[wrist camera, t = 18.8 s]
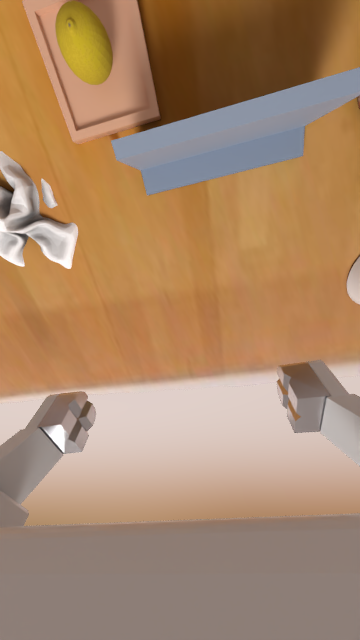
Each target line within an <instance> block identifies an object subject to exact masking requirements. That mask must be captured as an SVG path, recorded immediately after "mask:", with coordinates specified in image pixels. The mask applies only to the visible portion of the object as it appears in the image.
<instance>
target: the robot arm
mask: <svg viewBox="0 0 360 640" xmlns="http://www.w3.org/2000/svg"><path fill="white" fill-rule="evenodd" d="M347 291H348V294H349V296H350V297H351V299H352V300H353V301H354V302H356V303H357V304H359V305H360V257H359V258H358V259H357V261H356V262H355V263H354V265H353V267H352V269H351V271H350V273H349V276H348V280H347ZM277 374H278V376H279V378H280V379H279V380H278V381H277V389H278V395H279V398H280V401H281V403H282V405H283V406H284V407H285V408H286V409H287V417H288V419H289V421H290V423H291V426H292V428H293V430H294V432H295V433H302V432H318V431H320V433H321V434H322V435H324V436H325V437H326V438H327V439H328V440H329V441H331V442H332V443H333V444H334V445H335V446H337V447H338V448H339V449H340V450H341V451H342V452H344V453H345V454H346V455H347V456H348V457H349V458H351V459H352V460H353V461H354V462H355V463H357V464H358V465H359V466H360V397H359V396H357V395H355V394H349V393H348V392H347V391H346V390H345V388H344V387H343V386H342V385H341V383H340V382H339V381H338V380H337V378H336V377H335V376H334V375H333V373H332V372H331V371H330V370H329V368H328V367H327V366H326V365H325V363H324V362H323V361H321V360H316V361H308V362H301V363H294V364H287V365H280V366H278V368H277ZM87 399H88V396H87V395H86V393H85V392H72V393H62V394H54V395H50V396H48V397H47V398H46V399H45V401H44V402H43V403H42V405H41V406H40V408H39V409H38V411H37V412H36V414H35V415H34V417H33V418H32V419H31V421H30V422H29V424H28V425H27V426H26V428H25V429H23V430H20V431H19V432H18V433H17V434H15V435H14V436H12V437H11V438H10V439H9V440H7V441H6V442H5V443H3V444H2V445H1V446H0V640H360V514H335V515H334V514H333V515H308V516H280V517H255V518H254V517H253V518H226V519H203V520H202V519H200V520H174V521H147V522H121V523H95V524H68V525H45V526H44V525H42V526H23V525H24V523H25V521H26V519H27V517H28V515H29V513H28V510H27V509H25V508H24V507H22V506H21V503H22V502H23V501H24V500H25V499H26V498H27V496H28V495H29V494H30V493H31V492H32V491H33V490H34V488H35V487H36V486H37V485H38V484H39V482H40V481H41V480H42V479H43V478H44V477H45V476H46V475H47V473H48V472H49V471H50V470H51V469H52V468H53V466H54V465H55V464H56V463H57V462H58V461H59V459H60V458H61V457H62V456H63V454H66V453H75V452H82V450H83V448H84V446H85V443H86V441H87V438H88V436H89V435H88V432H87V431H88V430H89V429H90V428H91V427H92V426H93V424H94V421H95V416H96V411H95V407H94V406H93V404H92V403H90V402H89V401H87Z"/></svg>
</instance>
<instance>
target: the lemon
mask: <svg viewBox="0 0 360 640" xmlns="http://www.w3.org/2000/svg"><path fill="white" fill-rule="evenodd" d="M55 30H56V37H57V42H58V45H59V48H60V51H61V54H62V56H63V58H64V59H65V61H66V63H67V65H68V66H69V68H70V69H71V70H72V71H73V73H74V74H75V75H76V76H77V77H78V78H80V79H81V80H82V81H84V82H86V83H88V84H90V85H99V84H102V83H103V82H105V81H106V80H107V78H108V77H109V75H110V73H111V70H112V64H113V52H112V47H111V42H110V39H109V37H108V34H107V31H106V29H105V27H104V26H103V24H102V22H101V21H100V19H99V18H98V16H97V15H96V14H95V13H94V12H93V11H92V10H91V9H90V8H89V7H87V6H86V5H84V4H83V3H81V2H78V1H74V0H73V1H68V2H66V3H64V4H63V5H62V6H61V8H60V9H59V11H58V14H57V16H56V23H55Z"/></svg>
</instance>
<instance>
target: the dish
mask: <svg viewBox="0 0 360 640" xmlns="http://www.w3.org/2000/svg"><path fill="white" fill-rule="evenodd" d="M68 1H73V0H24V1H22V3H23V5H24V8H25V11H26V14H27V16H28V19H29V22H30V25H31V27H32V30H33V33H34V36H35V38H36V41H37V44H38V47H39V49H40V52H41V55H42V58H43V60H44V63H45V66H46V69H47V71H48V74H49V77H50V80H51V83H52V85H53V88H54V91H55V94H56V96H57V99H58V102H59V105H60V107H61V110H62V113H63V116H64V118H65V121H66V124H67V127H68V129H69V132H70V135H71V138H72V140H73V142H75V143H77V144H81V143H84V142H87V141H91V140H94V139H97V138H101V137H104V136H107V135H111V134H114V133H117V132H121V131H124V130H127V129H131V128H134V127H137V126H140V125H144V124H147V123H150V122H154V121H157V120H160V119H161V117H160V112H159V107H158V102H157V97H156V91H155V86H154V81H153V76H152V71H151V66H150V61H149V55H148V50H147V45H146V40H145V35H144V30H143V25H142V20H141V14H140V9H139V4H138V0H74V1H78V2H81V3H83V4H84V5H86V6H87V7H89V8H90V9H91V10H92V11H93V12H94V13H95V14H96V15H97V16H98V18H99V19H100V21H101V22H102V24H103V26H104V27H105V29H106V31H107V34H108V37H109V39H110V42H111V47H112V52H113V64H112V70H111V73H110V75H109V77H108V78H107V80H106V81H105V82H103V83H102V84H99V85H90V84H88V83H86V82H84V81H82V80H81V79H80V78H78V77H77V76H76V75H75V74H74V73H73V71H72V70H71V69H70V68H69V66H68V65H67V63H66V61H65V59H64V58H63V56H62V54H61V51H60V48H59V45H58V42H57V37H56V30H55V23H56V16H57V14H58V11H59V9H60V8H61V6H62V5H63V4H64V3H66V2H68Z"/></svg>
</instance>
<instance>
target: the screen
mask: <svg viewBox="0 0 360 640" xmlns="http://www.w3.org/2000/svg"><path fill="white" fill-rule="evenodd" d="M359 95H360V67H359V68H356V69H352V70H349V71H346V72H342V73H339V74H335V75H332V76H329V77H325V78H322V79H319V80H315V81H312V82H308V83H305V84H302V85H298V86H295V87H292V88H288V89H285V90H281V91H278V92H275V93H271V94H268V95H265V96H261V97H258V98H254V99H251V100H248V101H244V102H241V103H238V104H234V105H231V106H227V107H224V108H221V109H217V110H214V111H211V112H207V113H204V114H200V115H197V116H194V117H190V118H187V119H183V120H180V121H177V122H173V123H170V124H167V125H163V126H160V127H156V128H153V129H150V130H146V131H143V132H140V133H136V134H133V135H129V136H126V137H123V138H119V139H116V140H113V141H111V142H112V146H113V149H114V153H115V156H116V159H117V161H120V162H122V163H124V164H127V165H129V166H131V167H134V168H136V169H139V170H141V173H142V177H143V181H144V185H145V189H146V193H147V195H151V194H155V193H159V192H163V191H166V190H170V189H174V188H178V187H182V186H186V185H190V184H194V183H198V182H202V181H206V180H210V179H214V178H218V177H222V176H226V175H230V174H234V173H238V172H242V171H246V170H249V169H253V168H257V167H261V166H265V165H269V164H273V163H277V162H281V161H285V160H289V159H293V158H297V157H301V156H303V147H304V129H305V126H306V125H308V124H309V123H311V122H313V121H315V120H317V119H318V118H320V117H322V116H324V115H325V114H327V113H329V112H331V111H333V110H334V109H336V108H338V107H340V106H341V105H343V104H345V103H347V102H349V101H350V100H352V99H354V98H356V97H358V96H359Z"/></svg>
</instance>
